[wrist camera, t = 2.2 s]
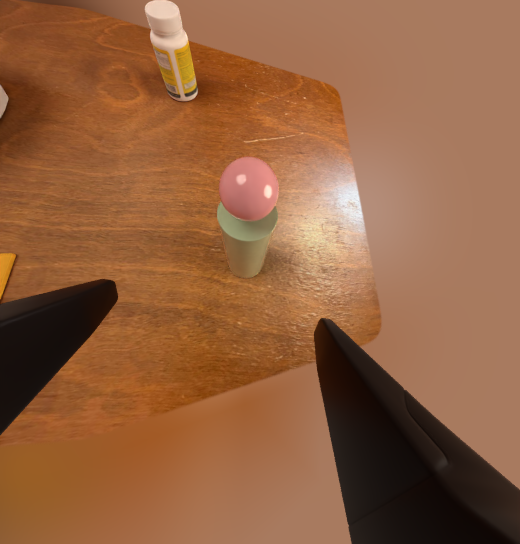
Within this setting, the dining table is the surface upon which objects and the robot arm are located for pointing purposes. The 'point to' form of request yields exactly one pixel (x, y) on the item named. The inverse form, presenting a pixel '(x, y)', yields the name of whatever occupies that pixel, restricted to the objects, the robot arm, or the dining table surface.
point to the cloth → (5, 269)
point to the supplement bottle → (172, 49)
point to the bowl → (3, 101)
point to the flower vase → (247, 213)
